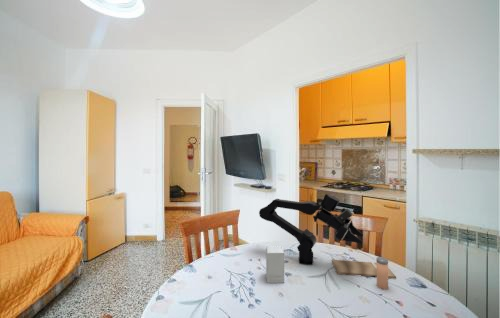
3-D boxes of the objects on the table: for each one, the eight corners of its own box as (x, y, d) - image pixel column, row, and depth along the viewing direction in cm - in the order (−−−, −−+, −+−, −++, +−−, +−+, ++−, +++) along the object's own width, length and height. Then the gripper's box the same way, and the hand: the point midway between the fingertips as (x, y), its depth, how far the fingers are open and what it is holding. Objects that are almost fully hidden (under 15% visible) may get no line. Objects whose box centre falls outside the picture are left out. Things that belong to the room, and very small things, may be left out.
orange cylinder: (378, 289, 86) (378, 261, 86) (375, 283, 90) (374, 256, 90) (390, 290, 86) (389, 262, 86) (385, 284, 90) (385, 257, 90)
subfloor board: (336, 274, 98) (336, 271, 98) (331, 261, 110) (331, 259, 110) (396, 278, 94) (396, 276, 94) (384, 265, 105) (384, 263, 105)
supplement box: (284, 283, 91) (284, 253, 91) (267, 283, 91) (266, 253, 91) (282, 273, 99) (282, 245, 99) (266, 273, 99) (265, 245, 99)
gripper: (334, 208, 94) (371, 230, 88) (340, 201, 111) (371, 218, 104) (322, 229, 97) (357, 252, 90) (329, 219, 113) (359, 237, 106)
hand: (362, 238), depth 98 cm, fingers open, 9 cm apart
